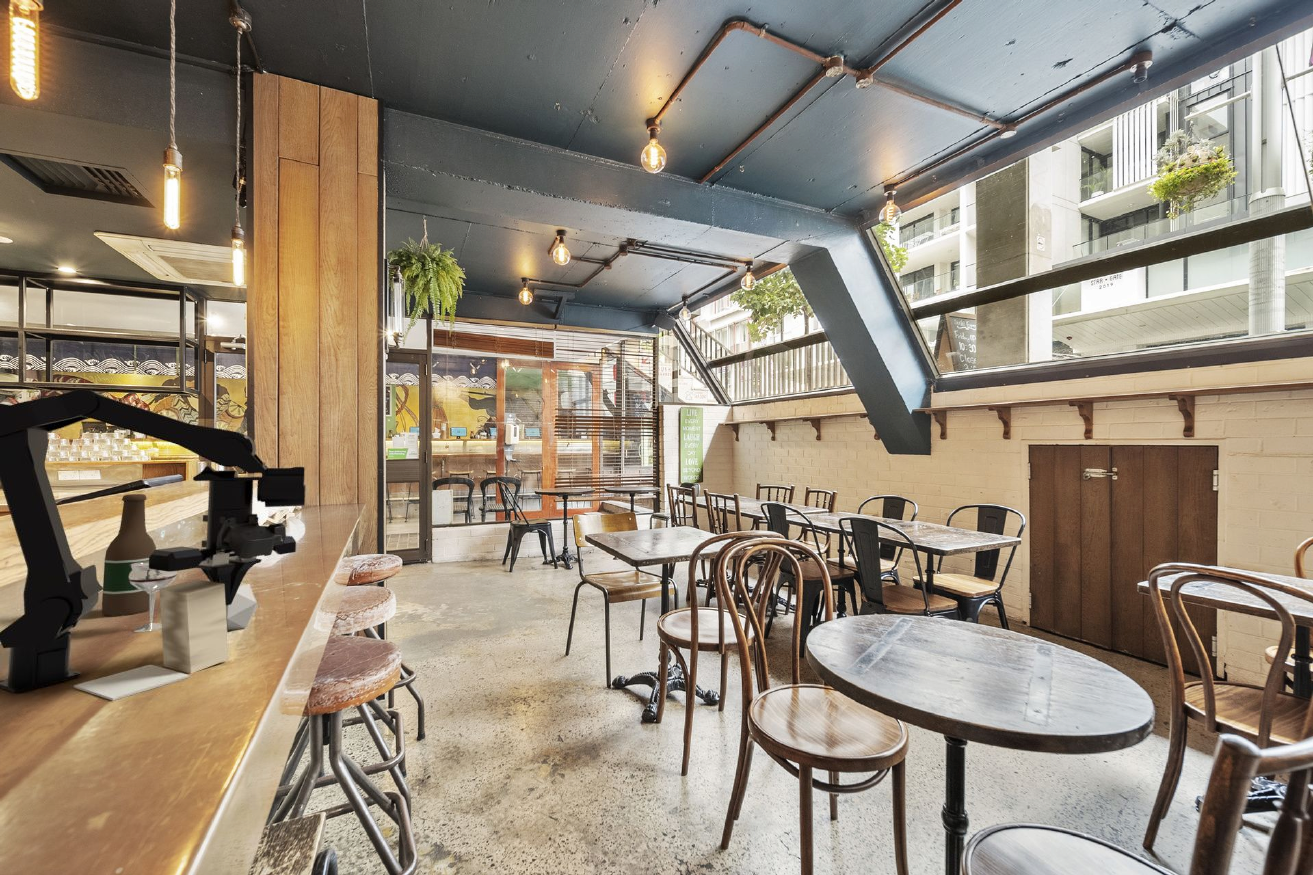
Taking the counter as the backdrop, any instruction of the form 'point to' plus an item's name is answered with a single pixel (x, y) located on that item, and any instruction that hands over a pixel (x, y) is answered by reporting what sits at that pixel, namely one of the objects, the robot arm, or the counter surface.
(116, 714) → the counter surface
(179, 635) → the birch block
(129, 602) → the beer bottle
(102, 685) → the mat
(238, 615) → the die
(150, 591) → the wineglass
